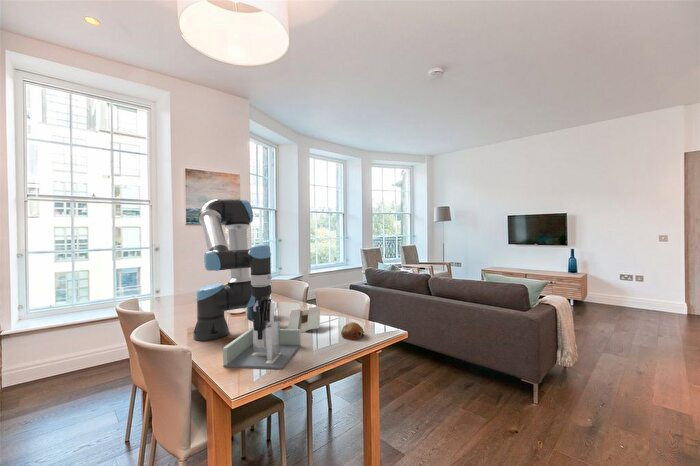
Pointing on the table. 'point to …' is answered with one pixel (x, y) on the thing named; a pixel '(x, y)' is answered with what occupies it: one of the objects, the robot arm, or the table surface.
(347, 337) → the bread roll
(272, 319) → the candle holder
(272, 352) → the angle bracket
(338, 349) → the table surface
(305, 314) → the wall
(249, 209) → the robot arm
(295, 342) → the corner tray
